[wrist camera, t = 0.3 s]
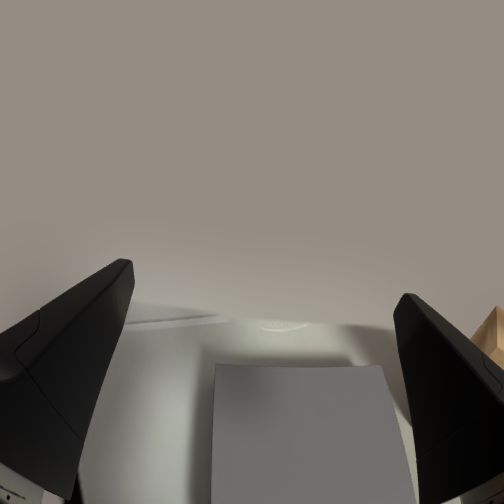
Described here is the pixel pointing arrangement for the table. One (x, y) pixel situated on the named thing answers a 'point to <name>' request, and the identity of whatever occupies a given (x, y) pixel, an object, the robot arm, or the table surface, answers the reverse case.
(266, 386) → the plinth
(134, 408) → the table surface
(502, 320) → the oak block
